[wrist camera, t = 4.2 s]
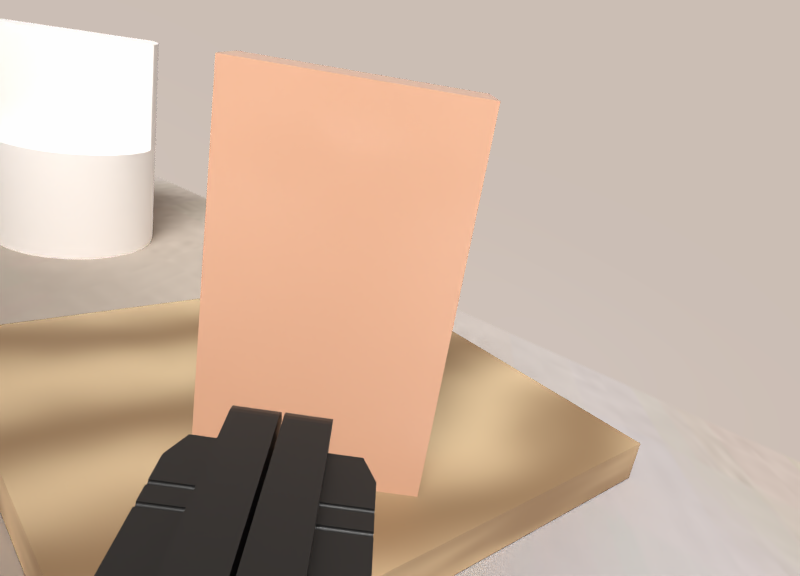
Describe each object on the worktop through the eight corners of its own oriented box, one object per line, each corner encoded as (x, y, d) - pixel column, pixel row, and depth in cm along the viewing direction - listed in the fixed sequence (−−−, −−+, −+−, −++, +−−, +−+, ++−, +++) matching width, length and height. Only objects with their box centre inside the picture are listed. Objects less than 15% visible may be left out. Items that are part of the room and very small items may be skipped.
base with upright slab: (151, 217, 47) (156, 38, 43) (153, 261, 39) (160, 49, 35) (5, 209, 44) (-5, 14, 40) (-24, 256, 36) (-39, 20, 32)
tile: (417, 496, 21) (500, 100, 16) (189, 466, 20) (215, 52, 16) (415, 449, 23) (487, 92, 19) (211, 421, 23) (239, 50, 18)
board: (-55, 369, 26) (-58, 332, 25) (358, 303, 39) (362, 277, 38) (101, 772, 13) (101, 717, 13) (628, 477, 26) (640, 443, 26)
